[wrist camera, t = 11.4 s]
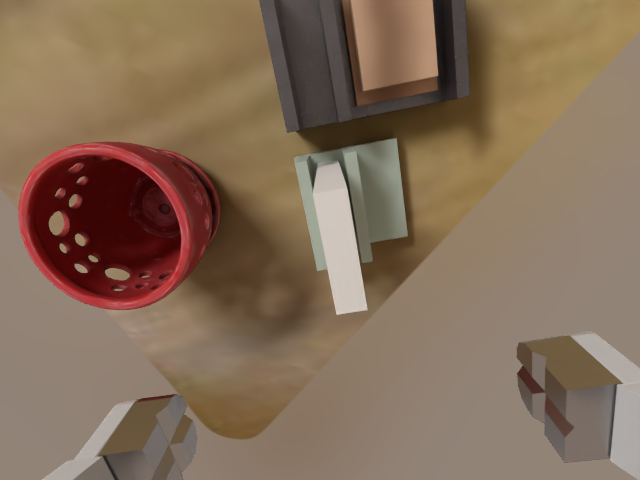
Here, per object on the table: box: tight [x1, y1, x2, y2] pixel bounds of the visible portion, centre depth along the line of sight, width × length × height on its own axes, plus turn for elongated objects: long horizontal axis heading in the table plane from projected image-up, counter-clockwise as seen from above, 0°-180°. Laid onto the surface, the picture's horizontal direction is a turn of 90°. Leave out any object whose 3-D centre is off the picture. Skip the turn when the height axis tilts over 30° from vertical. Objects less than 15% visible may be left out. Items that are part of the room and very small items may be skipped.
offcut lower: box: [340, 0, 438, 107], centre depth 30 cm, size 7×9×2 cm
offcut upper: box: [348, 0, 438, 93], centre depth 28 cm, size 6×7×2 cm
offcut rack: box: [259, 0, 470, 133], centre depth 29 cm, size 15×11×8 cm
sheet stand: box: [294, 138, 408, 271], centre depth 34 cm, size 10×10×6 cm
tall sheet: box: [313, 160, 367, 315], centre depth 28 cm, size 2×8×15 cm, turn 11°
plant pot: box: [19, 142, 221, 310], centre depth 32 cm, size 13×13×12 cm
